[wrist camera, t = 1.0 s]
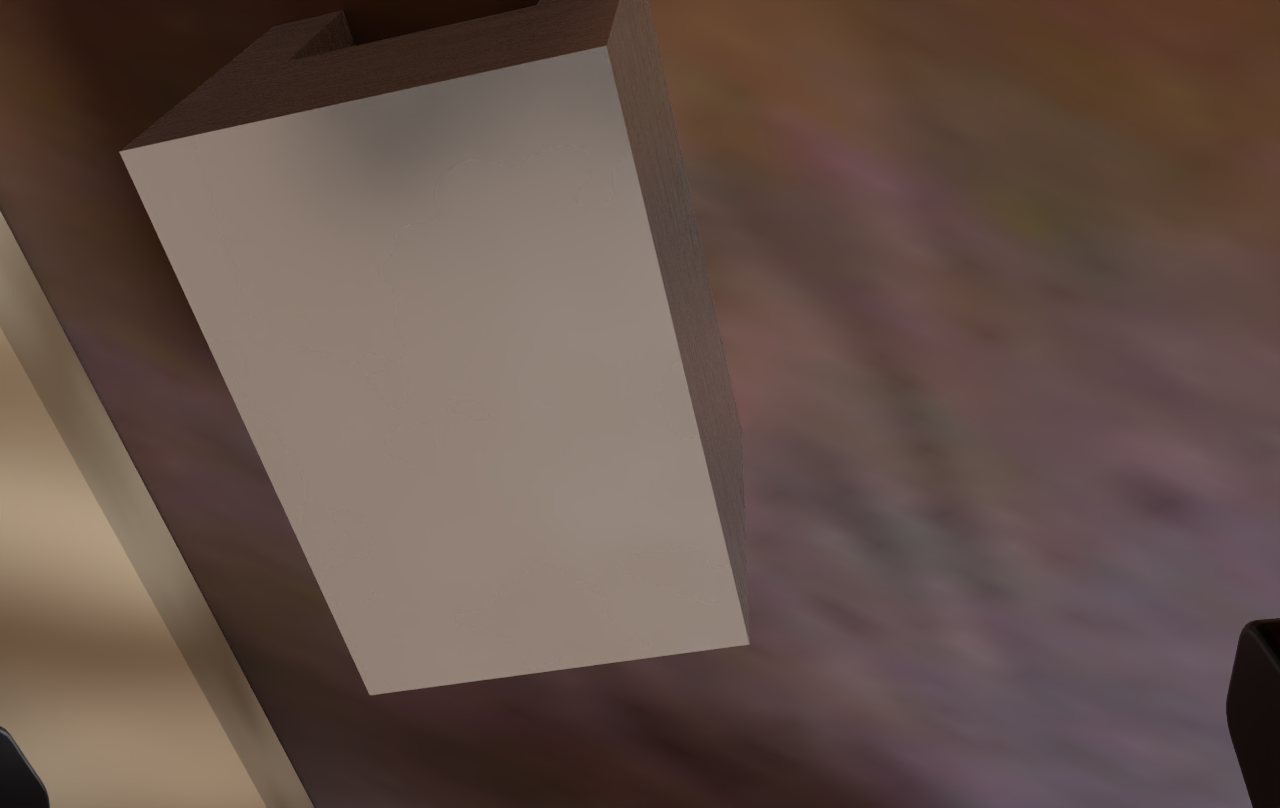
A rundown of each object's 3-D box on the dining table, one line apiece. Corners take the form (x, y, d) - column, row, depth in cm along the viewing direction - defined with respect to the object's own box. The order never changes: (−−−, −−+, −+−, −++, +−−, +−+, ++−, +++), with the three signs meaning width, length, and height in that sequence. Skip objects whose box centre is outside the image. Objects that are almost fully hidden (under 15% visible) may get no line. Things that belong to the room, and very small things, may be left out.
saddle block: (741, 428, 23) (749, 644, 18) (442, 476, 24) (369, 695, 19) (635, -58, 19) (605, 45, 14) (274, 25, 20) (118, 151, 14)
